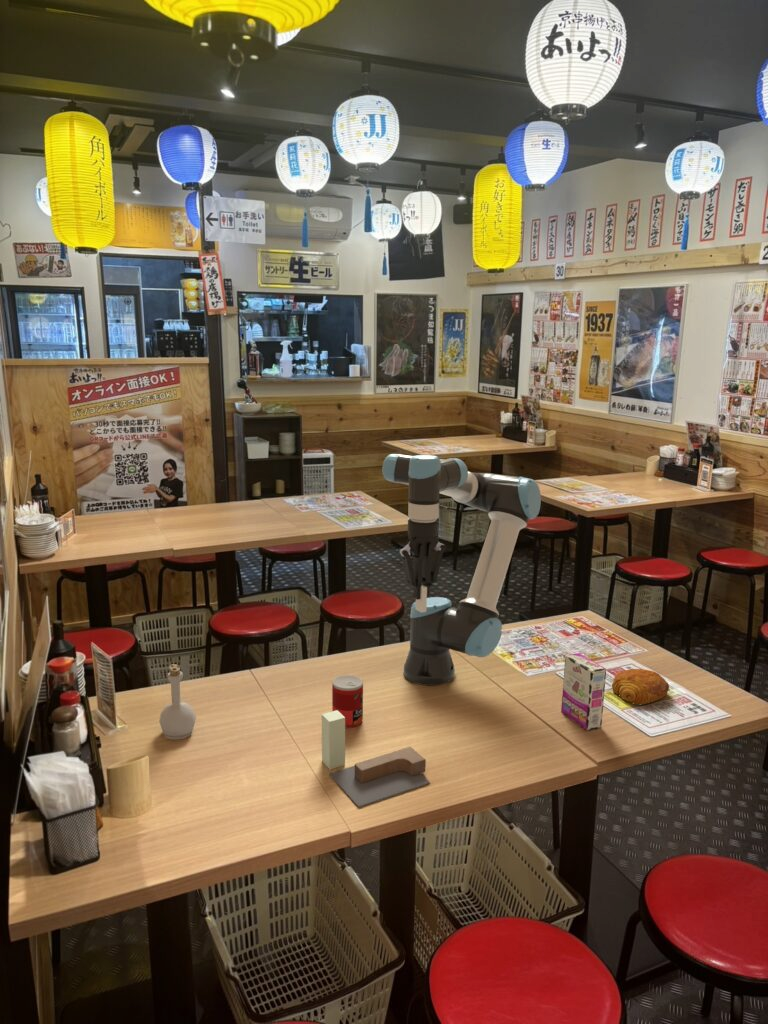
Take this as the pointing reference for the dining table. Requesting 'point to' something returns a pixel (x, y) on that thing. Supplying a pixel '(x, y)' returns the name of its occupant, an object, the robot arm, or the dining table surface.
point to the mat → (376, 785)
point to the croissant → (639, 686)
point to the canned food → (348, 699)
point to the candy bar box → (583, 691)
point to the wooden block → (390, 765)
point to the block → (333, 739)
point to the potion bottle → (176, 710)
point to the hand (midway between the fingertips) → (420, 610)
